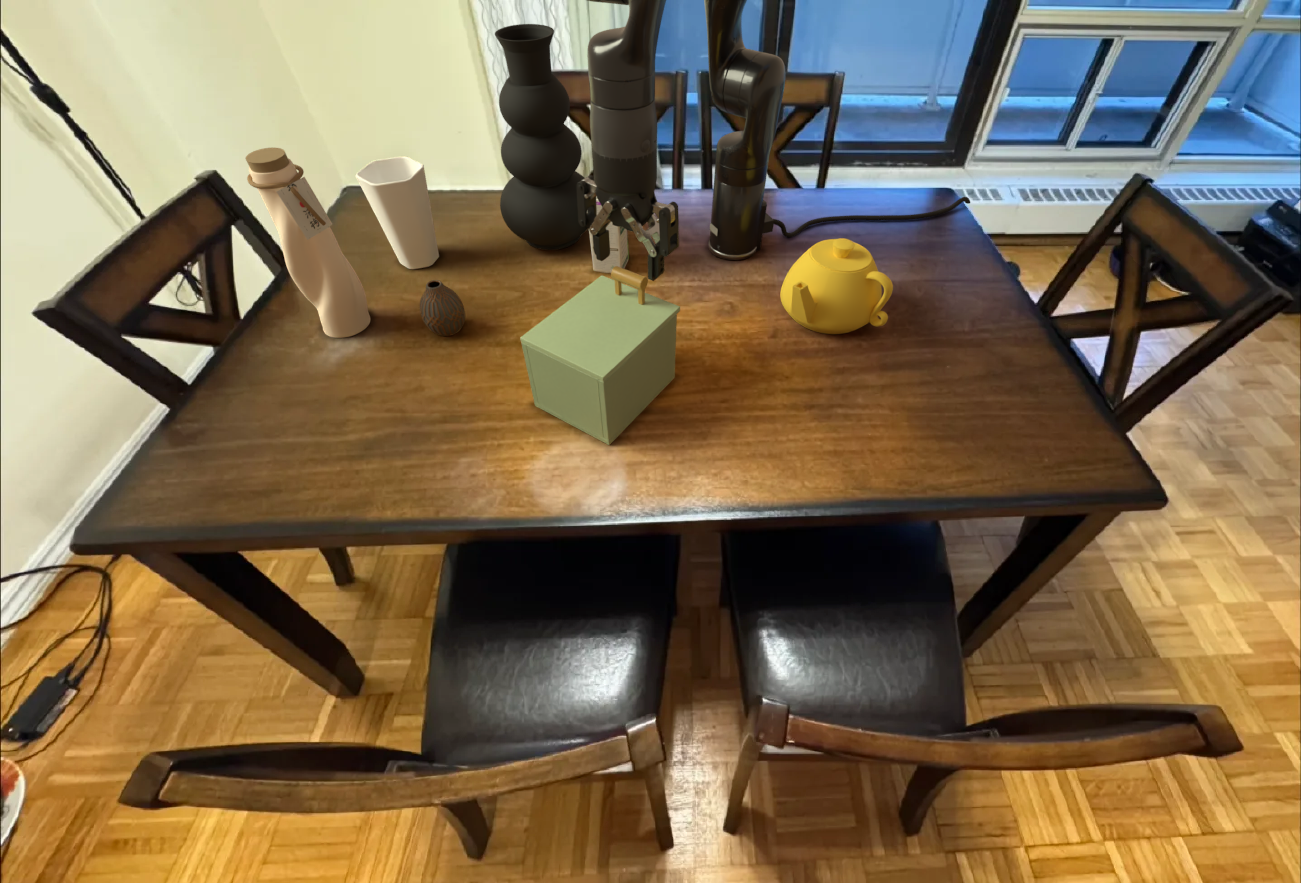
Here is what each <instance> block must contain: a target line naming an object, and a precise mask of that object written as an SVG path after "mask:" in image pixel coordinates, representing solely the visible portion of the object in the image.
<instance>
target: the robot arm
mask: <svg viewBox="0 0 1301 883" xmlns="http://www.w3.org/2000/svg"><path fill="white" fill-rule="evenodd" d="M586 1H587V2H593V3H604V4H605V3H606V4H614V5H615V4H616V5H622V6H628V17H627V21H626V24H625V26H621V27H615V28H609V29H605V30H602V31H599V32H597V33H595V34H593V35H592V36H591V38H590V39H589V41H588V44H587V54H586V55H587V71H588V73H587V74H588V86H589V98H590V102H589V103H590V107H589V108H590V109H589V130H590V143H591V144H590V145H591V155H592V156H591V159H592V172H593V175H592V174H589V175H588V176H586V177H584V179H583V180H581V181H580V182H578V183H577V206H578V222H579V224H580V226H582V227H584V226H586V227H588V231H589V230H590V233H591V234H592V235H593V247H594V253H595V255H596V258H597V260H600V261H603V260H605V259H606V258H607V257H609V255H610V241H609V230H606V227H607V226H608V225H609V223H610V222H612V224H613V225H614V226H617V227H623V228H625V229H626V230H628V232H631V233H632V232H633V233H634V235H635V237H636V238H637V241H638V242H640V243H643V245H644V247H645V249H646V251H647V252H648V254H647V279H648V281H652V282H655V281H656V280H657V279H658V278H660V277H661V276H662V275H663V274H664V272H665V258H667V257H668V256H669V255H671V254H672V253H673V252H674V251H675V250H677V249H678V248H679V247H680V225H679V220H680V218H679V204H678V203H677V202H676V201H671V202H669V203H663V202H659V201H658V200H657V197H656V193H655V190H656V184H657V179H658V116H657V107H656V56H657V47H658V42H659V35H660V30H661V25H662V20H663V15H664V11H665V7H666V3H667V0H586ZM703 1H704V2H703V4H704V12H705V22H706V36H707V38H706V39H707V58H708V59H707V60H708V62H707V64H708V76H709V77H708V82H709V90H710V95H711V98H712V102H713V104H714V106H715V107H716V108H717V109H718V110H720V111H722V112H723V113H726V114H729V115H732V116H736V117H738V118H739V117H740V118H742V119H745V122H744V127H743V130H737V131H733V132H729V133H727V134H724V135H723V136H721V137H720V138H719V139H718V141H717V143H716V150H715V151H716V152H715V161H714V175H713V176H714V177H713V187H712V188H713V189H712V202H711V214H710V223H709V238H708V250H709V251H710V253H711V254H713V255H714V256H715V257H717V258H720V259H723V260H728V261H740V260H746V259H748V258H751V257H753V256H754V255H755V253H757V251H761V247H762V241H763V235H764V234H767V233H768V234H769V233H772V232H773V231H774V225H775V226H778V227H779V228H780V230H781V233H782V234H781V235H782V236H783V237H785V238H787V239H789V238H793V237H796V236H797V235H799V234H800V233H801V232H803V231H804V230H806V228H808V227H810V226H814V225H817V224H818V225H819V224H823V223H831V222H846V221H847V222H848V221H912V220H919V219H927V218H931V217H936V216H940V215H943V214H946V213H949V212H951V211H953V210H954V209H956V208H957V207H958V206H960V204H962V203H965V204H966V205H968V204H969V205H970V204H971V200H970V198H969V197H968V196H962V197H960V198H958V199H957V200H956V201H954V202H953V203H952V204H950V205H949V206H947V207H944V208H940V209H937V210H933V211H929V212H923V213H914V214H891V215H890V214H889V215H885V214H883V215H882V214H881V215H878V214H877V215H872V214H870V215H868V214H865V215H864V214H856V215H855V214H851V215H850V214H849V215H834V216H824V217H818V218H813V219H810V220H808V221H806V222H804V223H803V224H801V225H800V226H799V227H797V229H795V230H794V231H792V232H789V231H788V230H787V227H786V225H785V223H784V222H783V221H781V220H779V219H776V218H773V217H771V216H770V215H769V214H768V213H767V207H768V203H767V201H765V199H764V197H765V189H766V184H767V183H766V182H767V177H768V176H767V174H768V168H769V161H770V155H771V150H772V148H773V144H774V142H775V138H776V133H777V128H778V122H779V117H780V112H781V107H782V102H783V98H784V93H785V92H784V91H785V87H786V86H785V85H786V66H785V63H784V61H783V59H782V58H781V57H780V56H778V55H776V54H772V53H768V52H763V51H759V50H754V49H751V48H746V46H745V44H744V39H743V29H742V27H743V26H742V23H743V22H742V20H743V12H744V9H745V6H746V3H747V2H748V0H703ZM596 197H597V198H598V200H599V202H600V204H601V206H602V209H601V210H600V212H599V213H598V215H597V208H596ZM646 224H648V228H647V229H646V230H645V229H644V226H645V225H646Z"/></svg>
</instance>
